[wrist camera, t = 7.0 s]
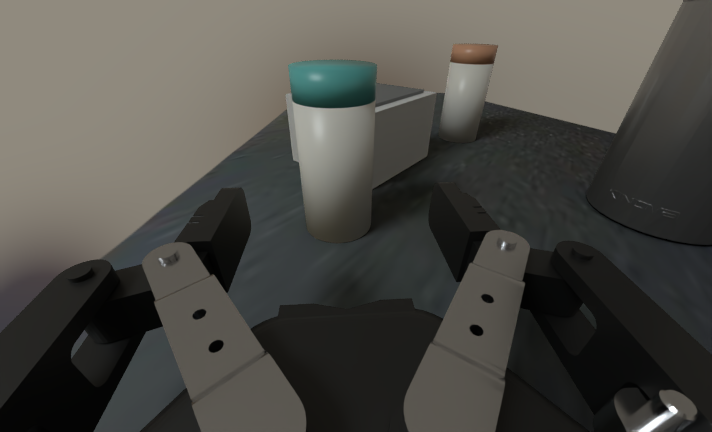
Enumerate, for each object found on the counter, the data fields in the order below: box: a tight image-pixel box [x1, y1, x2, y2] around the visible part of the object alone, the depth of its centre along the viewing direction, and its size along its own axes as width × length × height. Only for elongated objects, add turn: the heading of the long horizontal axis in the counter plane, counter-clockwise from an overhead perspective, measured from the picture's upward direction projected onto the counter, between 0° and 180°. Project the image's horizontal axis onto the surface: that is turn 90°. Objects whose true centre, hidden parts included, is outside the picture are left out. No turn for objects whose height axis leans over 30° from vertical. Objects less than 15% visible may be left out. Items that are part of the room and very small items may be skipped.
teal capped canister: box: [288, 60, 377, 243], centre depth 20 cm, size 5×5×11 cm
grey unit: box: [286, 83, 437, 189], centre depth 32 cm, size 11×11×7 cm
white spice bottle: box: [438, 44, 498, 143], centre depth 37 cm, size 5×5×11 cm
